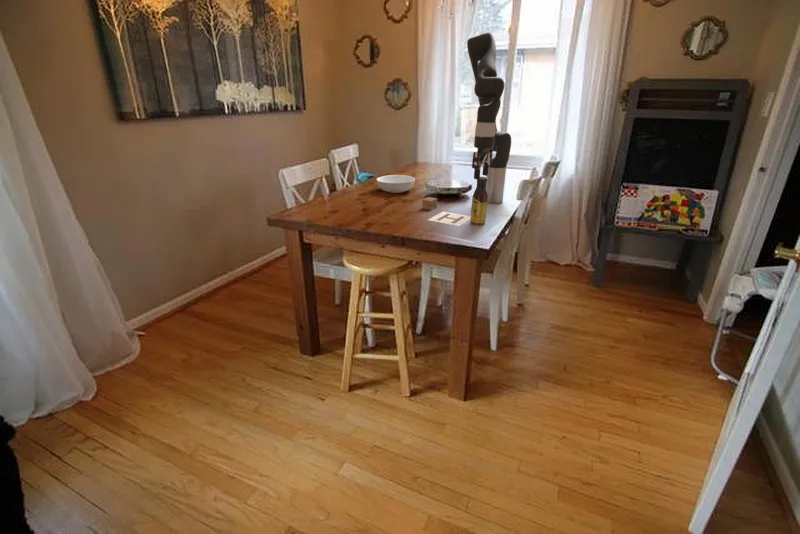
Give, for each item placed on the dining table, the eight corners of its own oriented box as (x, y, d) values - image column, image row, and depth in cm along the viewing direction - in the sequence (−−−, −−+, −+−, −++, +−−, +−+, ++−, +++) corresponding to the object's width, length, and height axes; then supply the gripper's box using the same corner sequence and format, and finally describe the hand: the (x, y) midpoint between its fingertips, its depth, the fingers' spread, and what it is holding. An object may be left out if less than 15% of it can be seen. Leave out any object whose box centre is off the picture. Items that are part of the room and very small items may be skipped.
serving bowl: (391, 184, 234) (391, 173, 231) (421, 190, 222) (422, 177, 220) (369, 192, 218) (368, 179, 215) (400, 197, 207) (400, 184, 204)
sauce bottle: (468, 222, 170) (471, 175, 162) (482, 222, 170) (487, 175, 162) (472, 227, 164) (476, 179, 156) (487, 227, 165) (491, 178, 156)
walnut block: (427, 207, 191) (427, 197, 189) (436, 208, 189) (437, 198, 187) (422, 209, 187) (422, 199, 185) (431, 211, 185) (432, 200, 183)
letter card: (443, 212, 183) (443, 211, 183) (473, 218, 175) (473, 216, 175) (427, 221, 171) (427, 219, 171) (459, 227, 164) (459, 226, 164)
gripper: (482, 132, 160) (479, 173, 166) (468, 135, 149) (464, 179, 155) (500, 133, 156) (496, 175, 163) (487, 137, 145) (482, 181, 152)
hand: (480, 177), depth 159 cm, fingers open, 8 cm apart
